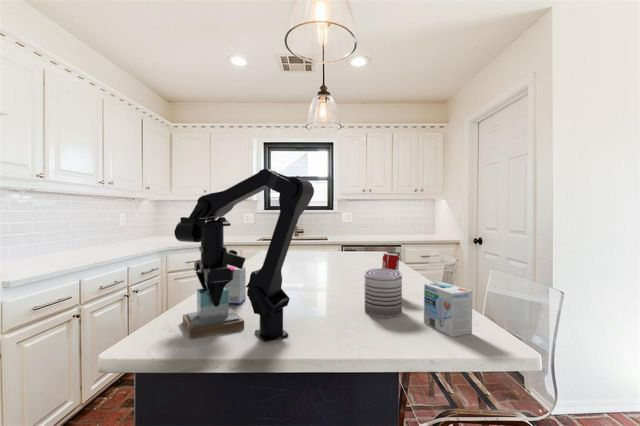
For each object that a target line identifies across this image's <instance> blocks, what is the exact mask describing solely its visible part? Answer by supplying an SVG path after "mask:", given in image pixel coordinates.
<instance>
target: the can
mask: <svg viewBox="0 0 640 426" xmlns="http://www.w3.org/2000/svg"><path fill="white" fill-rule="evenodd" d="M363 273H364V312H365V314H368V315H370V316H373V317H378V318H392V317H393V318H394V317H398V316H400V315H401V314H402V312H403V309H402V308H403V307H402V304H403V301H402V300H403V293H402V292H403V276H404V275H403V273H402V272H401V271H400V270H399V269H398V270H392V269H387V268H382V267H381V268H371V269H368V270H365V271H363Z"/></svg>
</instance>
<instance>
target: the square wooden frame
mask: <svg viewBox="0 0 640 426" xmlns="http://www.w3.org/2000/svg"><path fill="white" fill-rule="evenodd" d="M182 323H183V326H184V328H185V330H186V332H187V334H188V336H189V338H190V340H192V339H196V338H202V337H208V336H213V335H217V334H223V333H227V332H232V331H238V330H244V329H245V320H244V319H243V318H242V317H241V316H240V315H239V314H238V313H237V312H236V311H235V310H234V309H233V308H232V307H231V306H230V307H229V316H228V317H222V318H216V319H210V320H204V321H200V319H199V318H198V316H197V311H195V312H189V313H186V314H182Z"/></svg>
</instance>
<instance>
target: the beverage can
mask: <svg viewBox="0 0 640 426" xmlns="http://www.w3.org/2000/svg"><path fill="white" fill-rule="evenodd" d="M399 264H400V257H399V254H397V253H392V252H384V253H383V256H382V261H381V269H382V268H387V269H392V270H398V271H399Z"/></svg>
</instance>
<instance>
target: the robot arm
mask: <svg viewBox="0 0 640 426" xmlns="http://www.w3.org/2000/svg"><path fill="white" fill-rule="evenodd" d="M267 189H271V190H272V191H274V192H276V193H278V194H279V196H278V205H279V206H278V207H279V214H278V217H277V221H276V224H275V227H274V230H273V233H272V237H271V239H270V242H269V246H268V249H267V251H266V254H265V256H264V260H263V263H262V267H261V268H259V269H257V270H254V271H251V273H250V275H249V280H248V283H247V284H246V289H247V291H246V297H248V299H249V301H250V304H251V307H252V311H253V314H256V315H259V329H256V330H254V334H255V335H256V336H257V337H258V338H260V340H262V342H268V341H273V340H277V339H282V338H286V337H288V336H289V333H288V332H287V331H286V330H285V329H284V308H285V307H287V306H289V303H290V299H291V298H290V297H289V296H288V294H287V293H286V292H285V291H284V290H283V288H282V285H283V275H282V269H283V266H284V263H285V260H286V257H287V254H288V251H289V248H290V245H291V241H292V239H293V236H294V233H295V231H296V227H297V224H298V221H299V219H300V217H301V215H302V214H303V213H304V211H306V209H307V208H308V206H309V204H310V203H311V200H312V198H313V197H314V193H315V188H314V186H313V184H312V183H311V181H309V179H304V178H299V177H295V176H291V177H290V176H286V175H285V174H281V173H279V172H278V171H276V170H273V169H269V168H263V169H260V171H258V172H257V173H254V174H253V175H251V176H249V177H248V178H247V177H246V178H245V179H243V180H241V181H240V182H238V183H236V184H234V185H231V187H228V188H227V189H225V190H222V191H216V192H210V193H207V194H203V195H201V196H199V197H198V199H197V202H196V205H195V206H194V208H193V210H192V212H191V214H190V215H189V216H183V217H180V222H178V223H177V224H176V226H175V228H174V231H173V233H174V237H175V239H176V240H177V241H178V242H180V243H181V242H184V243H200V246H199V248H198V249H199V252H200V259H197V260H196V261H195V262H194V264H193V265H194V271H195V274H196V277H197V279H198V281H199V283H200V286H201V287H202V288H201V289H204V288H207V289H208V292H209V294H210V297H211V300H212V302H213V305H214V307H217V306H219V304H220V300H221V296H222V293H223V289H224V287H225V285H226V284H228V283H229V282H231V280H233V271H232V270H231V269H229V268H228V267H229V266H230V267H237V268H239V269H242V267H244V264H245V262H246V257H244V256H242V255H238V251H236V250H233V249H230V250H229V251H228V250H227V247H226V246H224V245H225V244H224V237H225V235H224V231H225V230H224V227H231V223H230V221H228V220H227V219H226V217H225V215H226V214H228V213H230V212H231V211H232V210H233V209H234V207H235V206H236V205H237V204H239V203H241V202H243V201H245V200H247V199H249V198H251V197H253V196H255V195H257V194H259V193H261V192H263V191H265V190H267Z"/></svg>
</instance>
